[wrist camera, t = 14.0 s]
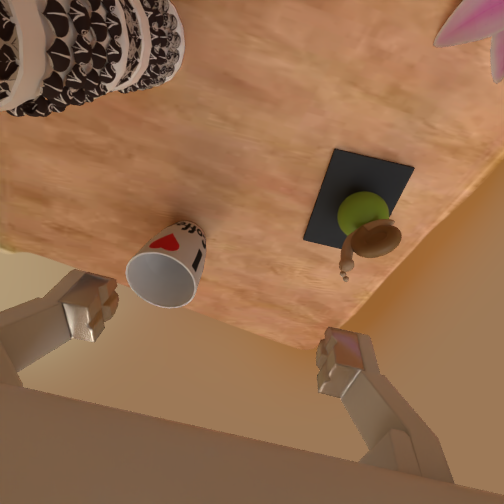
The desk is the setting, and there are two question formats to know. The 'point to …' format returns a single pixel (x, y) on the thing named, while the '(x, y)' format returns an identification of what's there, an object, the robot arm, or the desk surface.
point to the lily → (477, 29)
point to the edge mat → (352, 191)
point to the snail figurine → (365, 229)
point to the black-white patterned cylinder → (84, 51)
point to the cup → (169, 266)
